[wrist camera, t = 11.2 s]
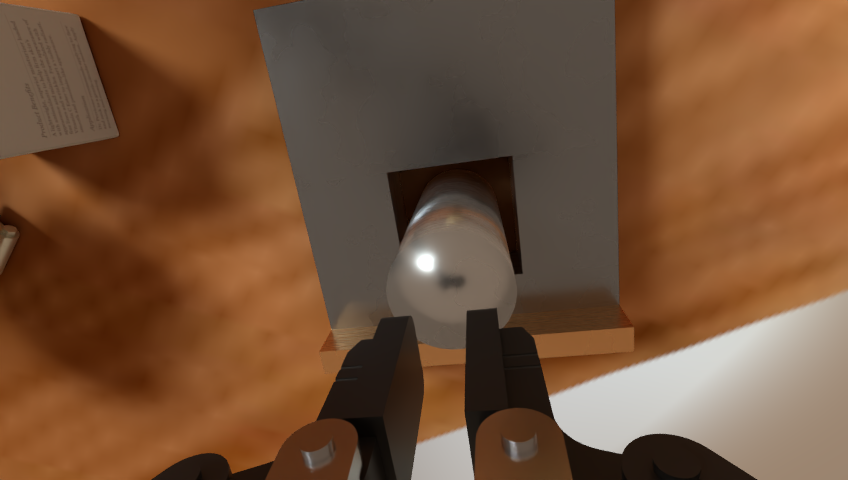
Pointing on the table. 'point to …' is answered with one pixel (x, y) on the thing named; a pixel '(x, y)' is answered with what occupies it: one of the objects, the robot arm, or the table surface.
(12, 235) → the pneumatic valve
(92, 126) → the skincare box
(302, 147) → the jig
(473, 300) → the translucent grey cylinder
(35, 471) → the table surface
